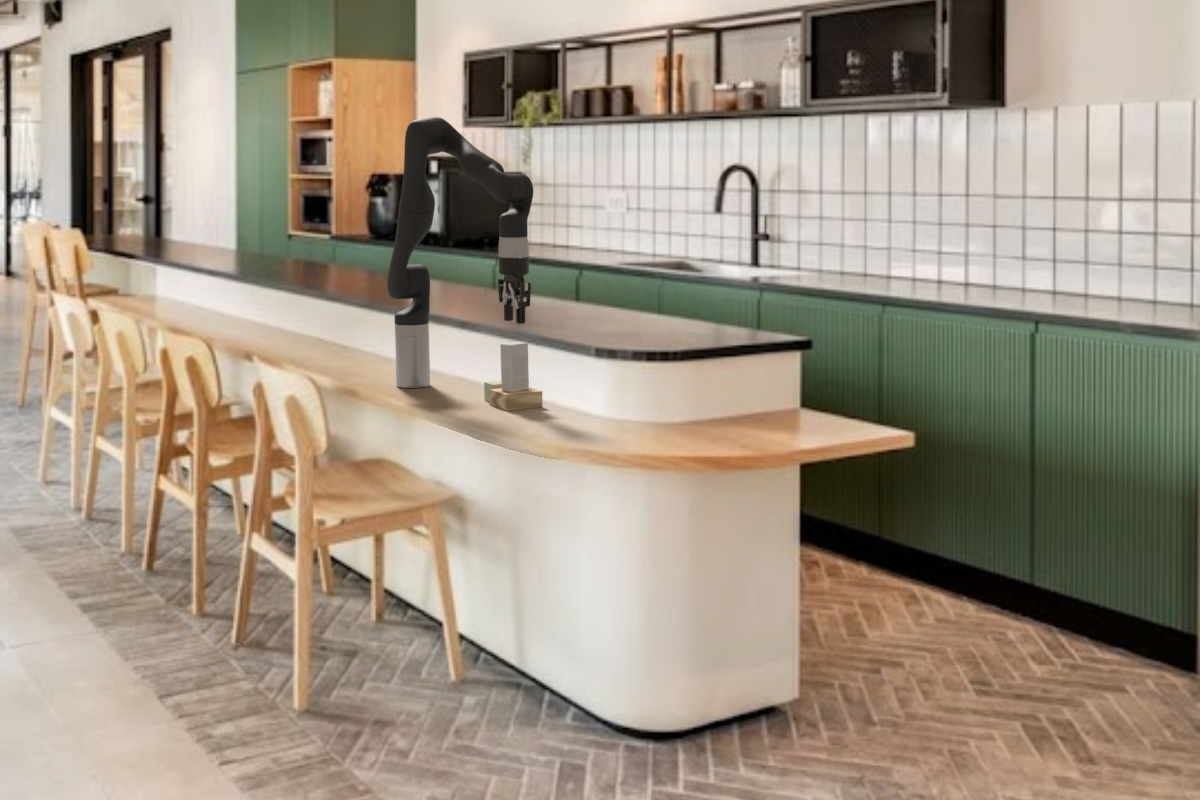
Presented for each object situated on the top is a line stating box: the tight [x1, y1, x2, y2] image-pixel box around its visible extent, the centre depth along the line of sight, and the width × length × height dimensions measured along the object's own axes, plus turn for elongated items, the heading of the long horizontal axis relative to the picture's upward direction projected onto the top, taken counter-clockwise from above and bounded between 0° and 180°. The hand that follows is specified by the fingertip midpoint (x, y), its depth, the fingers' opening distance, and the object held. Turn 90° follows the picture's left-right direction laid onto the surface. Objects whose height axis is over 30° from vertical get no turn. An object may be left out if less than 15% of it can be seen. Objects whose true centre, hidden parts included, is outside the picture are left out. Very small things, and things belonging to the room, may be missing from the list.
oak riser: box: [488, 387, 543, 412], centre depth 370 cm, size 10×10×4 cm
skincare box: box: [499, 341, 530, 392], centre depth 368 cm, size 6×4×12 cm
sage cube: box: [483, 380, 502, 403], centre depth 376 cm, size 5×5×5 cm
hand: (514, 321), depth 366 cm, fingers open, 6 cm apart
